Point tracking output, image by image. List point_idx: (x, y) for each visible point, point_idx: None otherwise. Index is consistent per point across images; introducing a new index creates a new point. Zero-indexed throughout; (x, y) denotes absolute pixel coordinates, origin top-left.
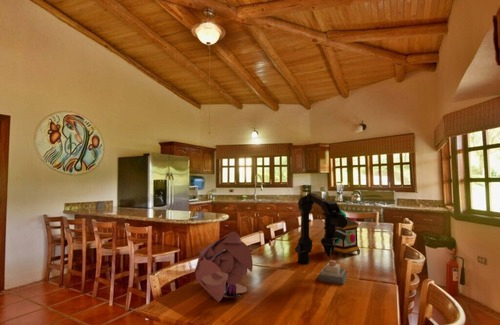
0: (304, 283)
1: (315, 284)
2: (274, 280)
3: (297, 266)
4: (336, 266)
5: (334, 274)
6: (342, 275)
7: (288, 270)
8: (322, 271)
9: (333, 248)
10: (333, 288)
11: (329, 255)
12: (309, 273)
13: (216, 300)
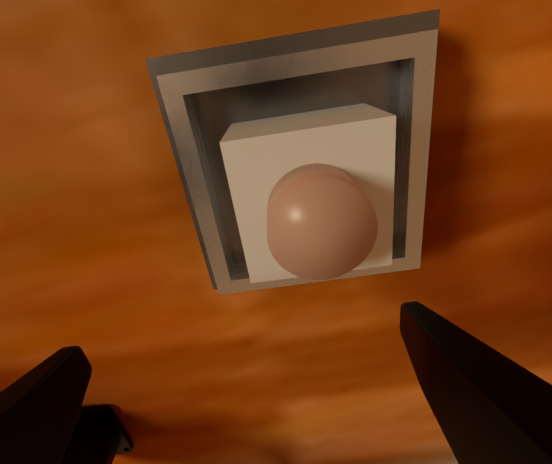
0: (491, 290)
1: (487, 228)
2: None
3: (192, 423)
4: (354, 146)
5: (427, 127)
6: (386, 37)
7: (296, 427)
8: (407, 254)
9: (16, 420)
10: (540, 75)
11: (435, 323)
12: (276, 334)
13: None
